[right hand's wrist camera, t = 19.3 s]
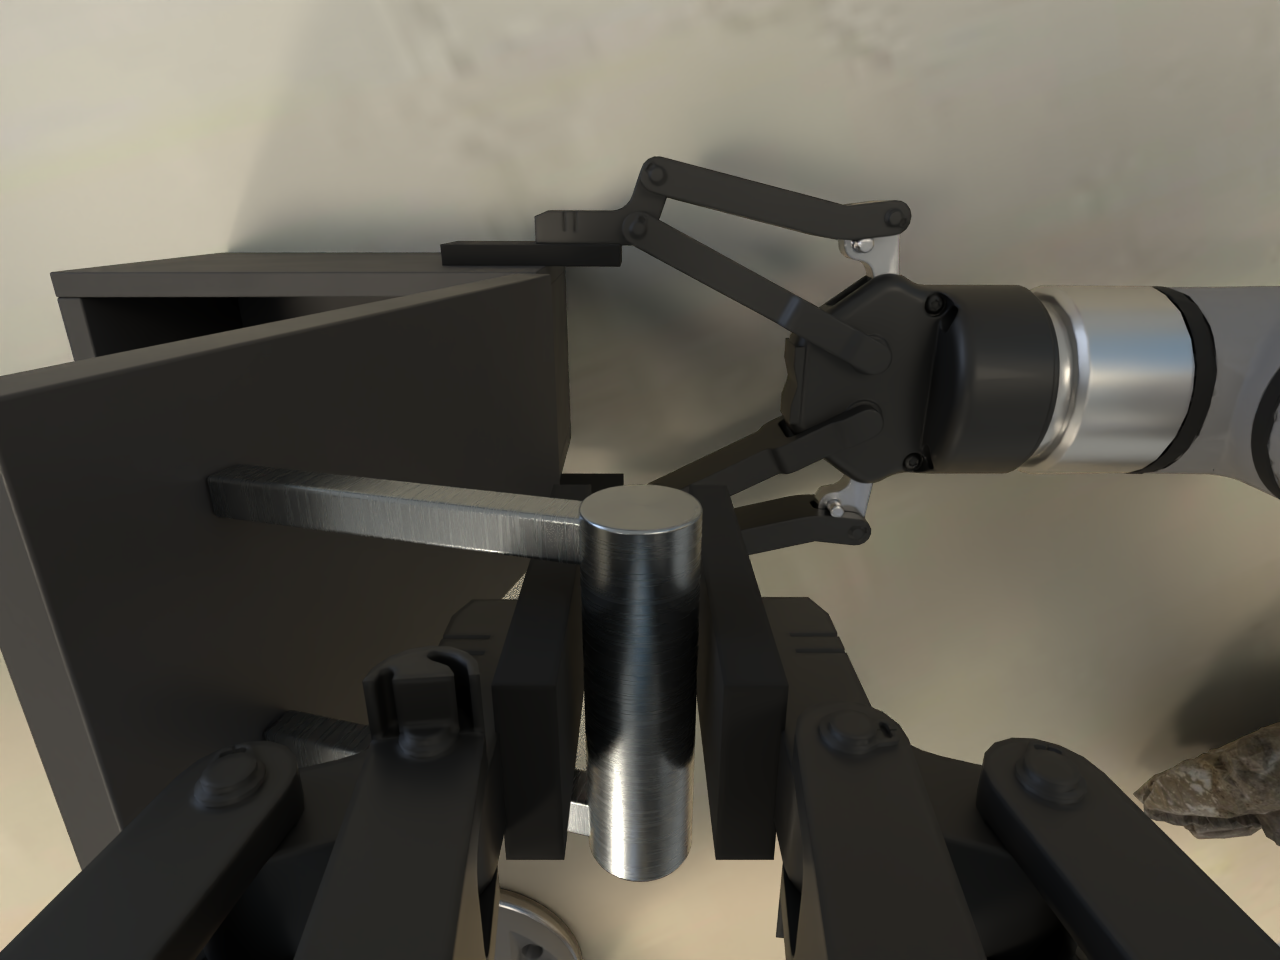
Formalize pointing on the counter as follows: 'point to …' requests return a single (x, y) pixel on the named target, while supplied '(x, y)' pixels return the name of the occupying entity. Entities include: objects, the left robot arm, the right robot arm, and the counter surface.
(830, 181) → the counter surface
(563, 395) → the chest
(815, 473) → the counter surface
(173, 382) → the lid
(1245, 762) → the fossil
